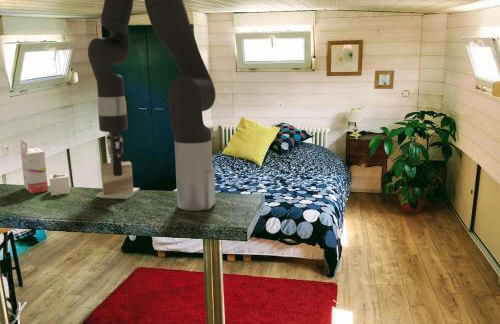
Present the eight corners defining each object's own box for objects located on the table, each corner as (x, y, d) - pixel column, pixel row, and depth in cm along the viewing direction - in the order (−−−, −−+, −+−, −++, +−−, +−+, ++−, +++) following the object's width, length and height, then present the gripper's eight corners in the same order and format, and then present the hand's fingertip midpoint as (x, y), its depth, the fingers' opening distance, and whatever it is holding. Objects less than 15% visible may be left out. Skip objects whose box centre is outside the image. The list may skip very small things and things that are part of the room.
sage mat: (139, 189, 142) (139, 187, 142) (126, 198, 133) (126, 196, 133) (110, 188, 143) (110, 186, 143) (95, 197, 135) (95, 195, 135)
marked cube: (70, 194, 139) (68, 176, 137) (51, 196, 137) (49, 178, 136) (69, 189, 143) (68, 172, 142) (51, 191, 141) (49, 174, 140)
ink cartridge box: (49, 191, 142) (44, 141, 138) (31, 194, 139) (25, 143, 135) (41, 185, 148) (36, 137, 145) (24, 187, 145) (18, 139, 142)
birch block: (133, 191, 138) (131, 164, 136) (104, 195, 135) (101, 166, 133) (131, 188, 141) (129, 161, 140) (102, 191, 139) (100, 163, 137)
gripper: (130, 115, 128) (134, 178, 132) (123, 109, 141) (127, 167, 145) (100, 116, 125) (105, 181, 129) (96, 111, 138) (100, 169, 142)
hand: (116, 173), depth 137 cm, fingers open, 4 cm apart
